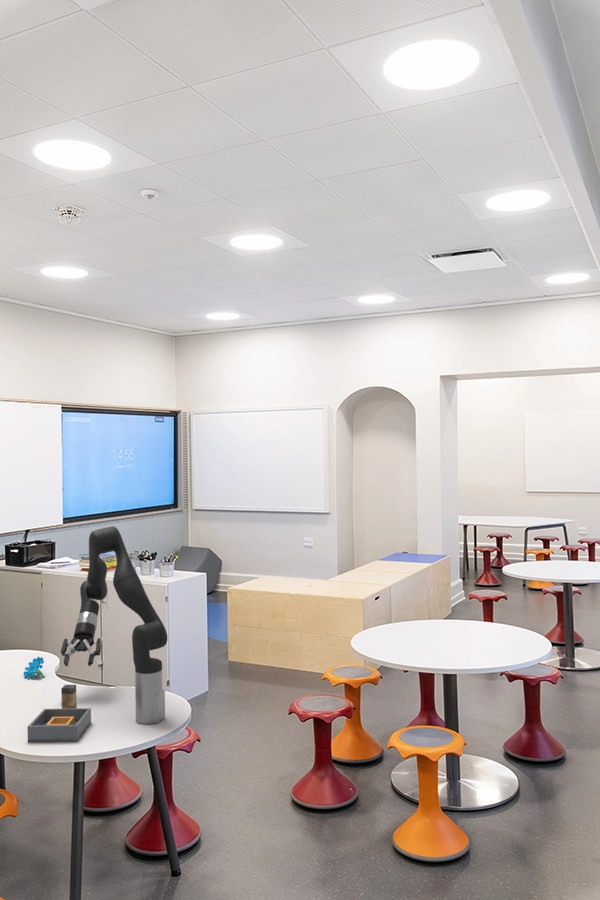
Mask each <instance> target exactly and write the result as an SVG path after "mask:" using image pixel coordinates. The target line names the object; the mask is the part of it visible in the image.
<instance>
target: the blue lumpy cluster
mask: <svg viewBox="0 0 600 900" xmlns="http://www.w3.org/2000/svg"><path fill="white" fill-rule="evenodd" d="M44 663H45V660H44V657H42V656H41V657H40V656H37V657H36V658H34V657H33V659H32V662H31V661H28V666H25V668H24V671H23V672H22V673H23V674H22V675H23V678H24V679H28V680H29V679H31V678H34V677H35V676H36V675H38V676H39V677H40V676H41V678H43V679H44V678H46V676H45V675H44V674H43V672H42V670H40V669H42V668H43V667H44V666H43V664H44Z"/></svg>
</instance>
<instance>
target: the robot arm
mask: <svg viewBox="0 0 600 900" xmlns="http://www.w3.org/2000/svg"><path fill="white" fill-rule="evenodd" d="M88 537H89V538H88V560H89V561H88V563H89V566H88V567H89V568H88V571H87V576H86V577H87V578H86V580H84V581H83V582H82V583H81V584H80V589H79V594H80V608H79V614H78V617H77V620H76V624H75V629H74V632H73V638H72V639H70V640H69V639H68V638H64V640H63V641H62V646H61V649H60V654H61V655H62V657H64V658H63V664H64V666H65V667H68V666H69V662H70V660H71V659H70V658H71V656H72V655H73V654H75V653H76V652H77V653H78V652H87V651H88V653H89V655H88V656H89V657H88V661H87V665H88V667H91V666H92V665H93V664H94V662H95V661H94V660H95V657H97V656H98V657H99V656H100V655H101V651H102V650H101V649H102V640H101V638H100V637H99V638H97V639H95V635H96V630H97V624H98V616H99V612H100V604H99V603H98V602H97V601H104V599H105V598H106V597H107V596H108V586H107V585H108V584H107V582H106V579H107V574H108V565H107V564H106V562H105V561H104V559H102V558H101V557H100V555H105V554H107V553H111V552H114V553H115V556H116V566H115V570H114V574H113V578H112V583H113V587H114V589H115V592H116V594H117V597H118V598H119V600H120V601H121V603H122V604H124V605H125V606H126V607H127V608H129V609H131V610H132V611H133V612H134V613H135V614H136V615H138V617H140V619H141V620H142V622H143V624H138V625H136V626H135V627H134V628H133V630H132V633H131V634H132V635H131V643H132V659H133V664H134V671H135V672H134V675H135V677H134V684H135V686H134V688H135V690H134V693H135V698H134V699H135V721H136V722H137V724H138V723H139V724H144V725H149V724H150V725H151V724H159V723H160V722H161V721H162V720H164V718H166V691H165V690H164V689H163V662H162V660H161V659H160V658H156V657H151V655H150V651H155V650H158V649H162V648H163V647H165V646H166V645H167V643H168V632H167V629H166V627H165V625H164V623H163V622H162V620H161V618H160V617H159V614H158V613H157V611H156V610H155V608H154V607H153V605H152V603H151V601H150V599H149V597H148V595H147V593H146V591H145V588H144V585H143V583H142V581H141V579H140V577H139V575H138V573H137V570H136V569H135V568H134V566H133V564H132V561H131V559H130V556H129V554H128V551H127V548H126V546H125V542H124V540H123V537H122V535H121V533H120V531H119V529H118V528H117V527H116V526H108V527H107V526H106V527H104V528H99V529H95V530H92V531H91V532H90V534H89V536H88ZM70 645H71V646H70ZM93 645H95V650H93V649H92V647H93ZM68 647H69V648H68Z"/></svg>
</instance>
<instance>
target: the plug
mask: <svg viewBox="0 0 600 900" xmlns="http://www.w3.org/2000/svg"><path fill="white" fill-rule="evenodd" d="M60 692H61V709H69V708H77V684H64V685H63V686H62V687H61V691H60Z"/></svg>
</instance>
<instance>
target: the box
mask: <svg viewBox="0 0 600 900" xmlns="http://www.w3.org/2000/svg"><path fill="white" fill-rule="evenodd" d="M91 724H92V708H91V707H88V708H87V707H86V708H85V707H83V708H78V707H76V708H69V709H62V708H43V710H42V711H40V713H39V714H38V715H37V716H36V717H35V718H34V719H33V720H32V721H31V722H30V723H29V724H28V725H27V743H48V742H49V743H53V742H54V743H55V742H56V743H58V742H60V743H61V742H62V743H63V742H68V743H69V742H70V743H71V742H79V740H80V738H81V737H82V736H83V734H85V732H86V731H87V729H88V728H89V726H90V725H91Z"/></svg>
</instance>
